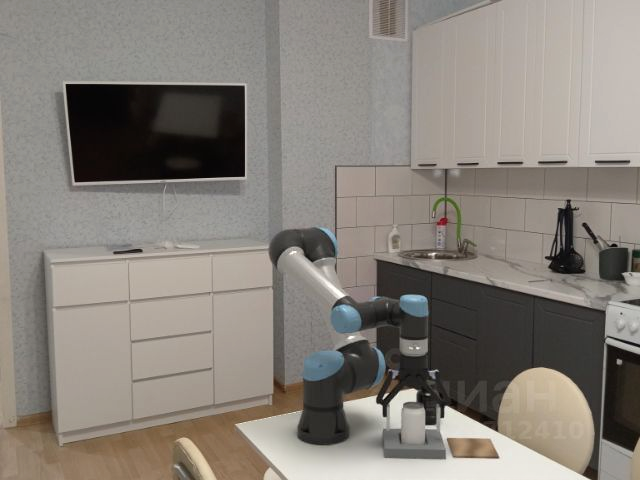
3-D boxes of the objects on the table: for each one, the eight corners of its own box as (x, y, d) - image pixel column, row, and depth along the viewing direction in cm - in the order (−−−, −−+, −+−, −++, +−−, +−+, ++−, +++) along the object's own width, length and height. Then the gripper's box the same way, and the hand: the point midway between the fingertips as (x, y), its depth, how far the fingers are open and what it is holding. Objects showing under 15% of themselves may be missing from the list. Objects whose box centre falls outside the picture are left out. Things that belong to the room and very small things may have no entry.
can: (424, 453, 174) (424, 409, 173) (400, 451, 176) (400, 408, 175) (425, 443, 181) (425, 401, 180) (402, 442, 182) (402, 400, 181)
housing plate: (384, 457, 172) (384, 448, 172) (382, 436, 186) (382, 428, 185) (445, 458, 171) (445, 449, 171) (439, 437, 185) (439, 429, 184)
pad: (453, 457, 172) (453, 455, 172) (446, 439, 184) (446, 437, 184) (499, 458, 171) (499, 456, 171) (490, 440, 183) (490, 438, 183)
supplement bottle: (442, 419, 199) (442, 381, 198) (434, 426, 193) (434, 387, 192) (421, 415, 202) (421, 377, 201) (412, 422, 197) (412, 383, 195)
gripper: (367, 355, 173) (367, 433, 175) (462, 356, 171) (461, 435, 173) (367, 348, 180) (367, 423, 182) (458, 349, 179) (457, 424, 181)
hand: (413, 429), depth 178 cm, fingers open, 13 cm apart
